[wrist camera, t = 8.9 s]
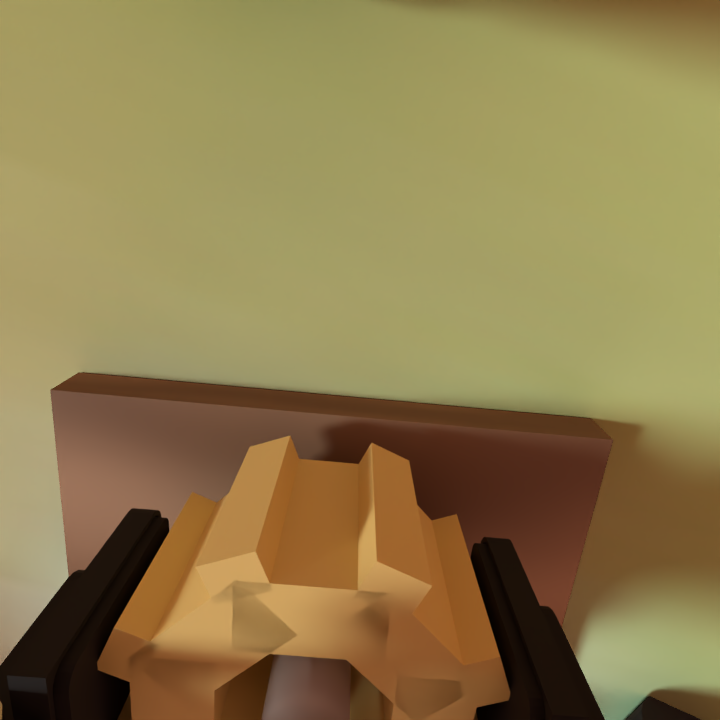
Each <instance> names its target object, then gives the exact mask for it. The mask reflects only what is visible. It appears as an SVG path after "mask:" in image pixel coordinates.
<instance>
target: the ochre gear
mask: <svg viewBox="0 0 720 720" xmlns="http://www.w3.org/2000/svg"><path fill="white" fill-rule="evenodd" d="M274 654H277V655H291V656H304V657H317V658H330V659H344V660H347V661H348V662H349V663H350V664H351V685H350V720H478V718H477V714H476V709H477V707H481V706H486V705H490V704H495V703H499V702H504V701H508V700H509V697H510V689H509V686H508V682H507V679H506V675H505V672H504V668H503V665H502V661H501V658H500V655H499V651H498V648H497V645H496V641H495V638H494V635H493V632H492V628H491V625H490V622H489V618H488V615H487V612H486V609H485V605H484V602H483V599H482V595H481V592H480V589H479V586H478V582H477V579H476V576H475V572H474V569H473V566H472V563H471V559H470V556H469V553H468V550H467V546H466V543H465V540H464V536H463V533H462V530H461V527H460V523H459V520H458V517H457V514H455V515H451V516H447V517H443V518H439V519H436V520H431V519H430V518H429V517H428V516H427V515H426V514H425V513H424V512H423V511H422V509H421V508H420V507H419V506H418V505H417V501H416V495H415V490H414V484H413V479H412V474H411V468H410V463H409V460H407V459H405V458H403V457H400V456H398V455H396V454H394V453H392V452H390V451H388V450H386V449H384V448H382V447H380V446H378V445H376V444H373V443H371V444H370V446H369V448H368V449H367V451H366V453H365V454H364V456H363V458H362V459H361V461H360V463H359V464H353V463H342V462H330V461H318V460H307V459H299V457H298V454H297V452H296V449H295V446H294V444H293V441H292V439H291V436H287V437H283V438H279V439H276V440H272V441H269V442H265V443H262V444H258V445H254V446H251V447H249V449H248V452H247V454H246V456H245V458H244V461H243V463H242V465H241V467H240V469H239V472H238V474H237V476H236V478H235V481H234V483H233V485H232V487H231V489H230V492H229V493H228V494H227V495H226V496H224V497H223V498H222V499H221V500H219V501H218V502H217V503H216V502H214V501H212V500H210V499H207V498H205V497H203V496H201V495H198V494H196V493H194V492H192V493H191V495H190V497H189V498H188V500H187V502H186V504H185V505H184V507H183V509H182V511H181V512H180V514H179V516H178V518H177V519H176V521H175V523H174V524H173V526H172V528H171V530H170V531H169V533H168V535H167V537H166V538H165V540H164V542H163V544H162V545H161V547H160V549H159V550H158V552H157V554H156V556H155V557H154V559H153V561H152V563H151V564H150V566H149V568H148V570H147V571H146V573H145V575H144V576H143V578H142V580H141V582H140V583H139V585H138V587H137V589H136V590H135V592H134V594H133V596H132V597H131V599H130V601H129V602H128V604H127V606H126V608H125V609H124V611H123V613H122V615H121V616H120V618H119V620H118V622H117V623H116V625H115V627H114V629H113V631H112V633H111V635H110V637H109V639H108V641H107V643H106V645H105V647H104V649H103V651H102V653H101V656H100V658H99V660H98V662H97V666H98V670H99V671H102V672H104V673H107V674H110V675H112V676H115V677H118V678H120V679H123V680H125V681H128V682H130V693H129V696H128V698H127V700H126V702H125V704H124V706H123V708H122V711H121V713H120V715H119V717H118V719H117V720H261V719H262V714H263V708H264V703H265V698H266V693H267V687H268V682H269V677H270V672H271V667H272V661H273V656H274Z"/></svg>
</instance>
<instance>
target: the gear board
mask: <svg viewBox="0 0 720 720" xmlns="http://www.w3.org/2000/svg"><path fill="white" fill-rule="evenodd" d="M51 400H52V411H53V421H54V431H55V441H56V451H57V461H58V471H59V482H60V492H61V502H62V512H63V522H64V532H65V543H66V553H67V563H68V573H69V576H70V575H71V574H72V573H73V572H75V571H77V570H85V569H86V568H87V567H88V565H89V564H90V563H91V561H92V560H93V559H94V557H95V556H96V555H97V553H98V552H99V551H100V549H101V548H102V546H103V545H104V544H105V542H106V541H107V540H108V538H109V537H110V536H111V534H112V533H113V532H114V530H115V529H116V528H117V526H118V525H119V524H120V522H121V521H122V520H123V518H124V517H125V515H126V514H127V513H128V512H129V511H130V509H132V508H138V509H150V510H159V511H160V513H161V517H162V518H168V520H169V531H170V530H171V528H172V526H173V524H174V523H175V521H176V519H177V518H178V516H179V514H180V512H181V511H182V509H183V507H184V505H185V504H186V502H187V500H188V498H189V497H190V495H191V493H192V492H194V493H196V494H198V495H201V496H203V497H205V498H207V499H210V500H212V501H214V502H216V503H217V502H218V501H219V500H221V499H222V498H223V497H224V496H226V495H227V494H228V493H229V492H230V489H231V487H232V485H233V483H234V481H235V478H236V476H237V474H238V472H239V469H240V467H241V465H242V463H243V461H244V458H245V456H246V454H247V452H248V449H249V447H251V446H254V445H258V444H262V443H265V442H269V441H272V440H276V439H279V438H283V437H287V436H291V439H292V441H293V444H294V446H295V449H296V452H297V454H298V457H299V459H307V460H318V461H330V462H342V463H353V464H359V463H360V461H361V459H362V458H363V456H364V454H365V453H366V451H367V449H368V448H369V446H370V444H371V443H373V444H376V445H378V446H380V447H382V448H384V449H386V450H388V451H390V452H392V453H394V454H396V455H398V456H400V457H403V458H405V459H407V460H409V463H410V468H411V474H412V479H413V484H414V490H415V495H416V501H417V505H418V506H419V507H420V508H421V509H422V511H423V512H424V513H425V514H426V515H427V516H428V517H429V518H430V519H431V520H436V519H439V518H443V517H447V516H451V515H455V514H457V517H458V520H459V523H460V527H461V530H462V533H463V536H464V540H465V543H466V546H467V550H468V553H469V556H470V557H471V552H472V547H473V545H474V543H481V540H482V539H483V537H492V538H504V539H510V540H511V542H512V543H513V546H514V548H515V550H516V552H517V555H518V557H519V559H520V562H521V564H522V566H523V568H524V571H525V573H526V575H527V577H528V580H529V582H530V584H531V586H532V589H533V591H534V593H535V596H536V598H537V600H538V602H539V605H540V606H548V607H550V608H551V609H552V610H553V612H554V613H555V615H556V617H557V619H558V621H559V623H560V625H561V627H562V624H563V620H564V616H565V613H566V609H567V605H568V602H569V598H570V595H571V591H572V587H573V584H574V580H575V576H576V573H577V569H578V566H579V562H580V558H581V555H582V551H583V547H584V544H585V540H586V537H587V533H588V529H589V526H590V522H591V519H592V515H593V511H594V508H595V504H596V500H597V497H598V493H599V490H600V486H601V482H602V479H603V475H604V471H605V468H606V464H607V461H608V457H609V453H610V450H611V446H612V442H613V439H612V438H611V437H610V436H609V435H608V434H607V433H605V432H604V431H603V430H602V429H601V428H600V427H599V426H598V425H597V424H596V423H595V422H594V421H593V420H592V419H590V418H579V417H568V416H557V415H546V414H535V413H523V412H512V411H501V410H490V409H479V408H468V407H457V406H445V405H434V404H423V403H412V402H401V401H390V400H379V399H368V398H356V397H345V396H334V395H323V394H312V393H301V392H290V391H278V390H267V389H256V388H245V387H234V386H223V385H212V384H201V383H189V382H178V381H167V380H156V379H145V378H134V377H123V376H112V375H100V374H89V373H77V374H76V375H74V376H72V377H71V378H69V379H68V380H66V381H64V382H63V383H61V384H59V385H58V386H56V387H54V388H53V389H51ZM350 685H351V664H350V663H349V662H348V661H347V660H344V659H330V658H317V657H304V656H291V655H277V654H274V656H273V661H272V667H271V672H270V677H269V682H268V687H267V693H266V698H265V703H264V708H263V714H262V719H261V720H350Z"/></svg>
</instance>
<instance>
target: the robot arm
mask: <svg viewBox="0 0 720 720" xmlns="http://www.w3.org/2000/svg"><path fill="white" fill-rule="evenodd" d="M168 533H169V520H168V518H162V517H161V513H160V511H159V510H150V509H138V508H132V509H130V511H129V512H128V513H127V514H126V515H125V517H124V518H123V520H122V521H121V522H120V524H119V525H118V526H117V528H116V529H115V530H114V532H113V533H112V534H111V536H110V537H109V538H108V540H107V541H106V542H105V544H104V545H103V546H102V548H101V549H100V551H99V552H98V553H97V555H96V556H95V557H94V559H93V560H92V561H91V563H90V564H89V565H88V567H87V568H86V569H85V570H77V571H75V572H73V573H72V574H71V575H70V576H69V577H68V579H67V580H66V581H65V583H64V584H63V585H62V586H61V588H60V589H59V590H58V592H57V593H56V594H55V595H54V597H53V598H52V599H51V601H50V602H49V603H48V605H47V606H46V607H45V608H44V610H43V611H42V612H41V614H40V615H39V616H38V618H37V619H36V620H35V621H34V623H33V624H32V625H31V627H30V628H29V629H28V630H27V632H26V633H25V634H24V636H23V637H22V638H21V640H20V641H19V642H18V643H17V645H16V646H15V647H14V649H13V650H12V651H11V653H10V654H9V655H8V656H7V658H6V659H5V660H4V662H3V663H2V664H1V665H0V720H117V719H118V717H119V715H120V713H121V711H122V708H123V706H124V704H125V702H126V700H127V698H128V696H129V693H130V682H128V681H125V680H123V679H120V678H118V677H115V676H112V675H110V674H107V673H104V672H102V671H99V670H98V666H97V662H98V660H99V658H100V656H101V653H102V651H103V649H104V647H105V645H106V643H107V641H108V639H109V637H110V635H111V633H112V631H113V629H114V627H115V625H116V623H117V622H118V620H119V618H120V616H121V615H122V613H123V611H124V609H125V608H126V606H127V604H128V602H129V601H130V599H131V597H132V596H133V594H134V592H135V590H136V589H137V587H138V585H139V583H140V582H141V580H142V578H143V576H144V575H145V573H146V571H147V570H148V568H149V566H150V564H151V563H152V561H153V559H154V557H155V556H156V554H157V552H158V550H159V549H160V547H161V545H162V544H163V542H164V540H165V538H166V537H167V535H168ZM470 559H471V563H472V566H473V569H474V572H475V576H476V579H477V582H478V586H479V589H480V592H481V595H482V599H483V602H484V605H485V609H486V612H487V615H488V618H489V622H490V625H491V628H492V632H493V635H494V638H495V641H496V645H497V648H498V651H499V655H500V658H501V661H502V665H503V668H504V672H505V675H506V679H507V682H508V686H509V689H510V697H509V700H508V701H504V702H499V703H495V704H490V705H486V706H481V707H477V709H476V714H477V718H478V720H605V719H604V717H603V715H602V713H601V711H600V708H599V706H598V704H597V702H596V700H595V698H594V696H593V694H592V691H591V689H590V687H589V685H588V683H587V681H586V679H585V676H584V674H583V672H582V670H581V668H580V666H579V664H578V662H577V659H576V657H575V655H574V653H573V651H572V649H571V647H570V644H569V642H568V640H567V638H566V636H565V634H564V632H563V630H562V627H561V625H560V623H559V621H558V619H557V617H556V615H555V613H554V612H553V610H552V609H551V608H550V607H548V606H540V605H539V602H538V600H537V598H536V596H535V593H534V591H533V589H532V586H531V584H530V582H529V580H528V577H527V575H526V573H525V571H524V568H523V566H522V564H521V562H520V559H519V557H518V555H517V552H516V550H515V548H514V546H513V543H512V542H511V540H510V539H504V538H492V537H483V539H482V540H481V543H474V545H473V547H472V552H471V557H470Z"/></svg>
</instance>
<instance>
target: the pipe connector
mask: <svg viewBox="0 0 720 720" xmlns="http://www.w3.org/2000/svg"><path fill="white" fill-rule="evenodd" d="M626 720H701V719H698V718H696V717H694V716H692V715H690V714H688V713H685V712H683V711H681V710H679V709H677V708H674V707H672V706H670V705H668V704H666V703H664V702H661V701H659V700H657V699H655V698H653V697H648V698H647V699H646V700H645V701H644V702H643V703H642V704H641V705H640V706H639V707H638V708H637V709H636V710H635V711H634V712H633V713H632V714H631V715H630V716H629V717H628V718H627V719H626Z"/></svg>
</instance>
